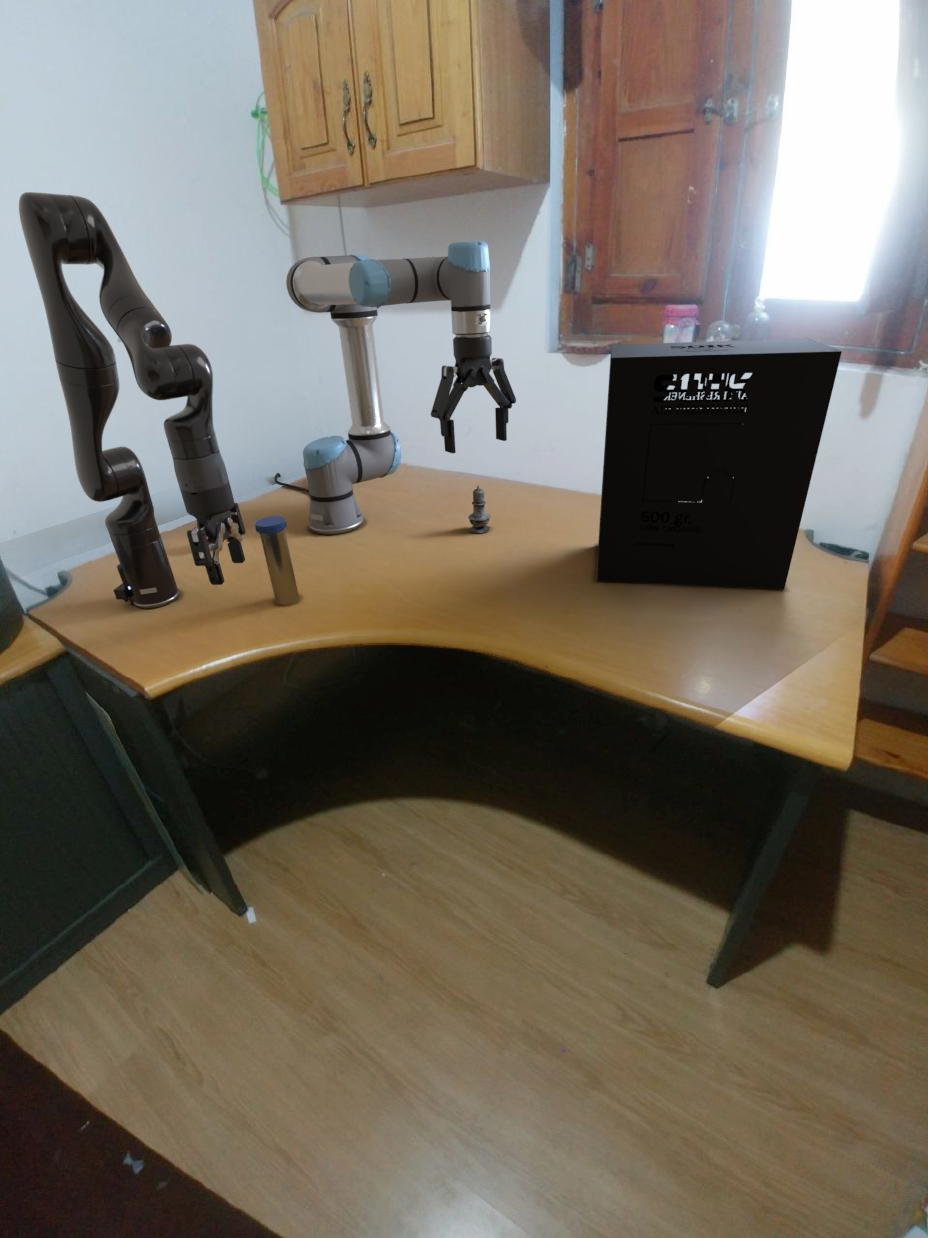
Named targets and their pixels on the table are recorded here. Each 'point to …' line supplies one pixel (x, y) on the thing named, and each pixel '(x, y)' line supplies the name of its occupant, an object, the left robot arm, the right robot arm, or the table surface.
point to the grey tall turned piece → (479, 513)
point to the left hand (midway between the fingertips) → (228, 572)
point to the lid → (270, 524)
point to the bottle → (280, 567)
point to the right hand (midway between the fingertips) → (476, 445)
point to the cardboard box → (710, 460)
